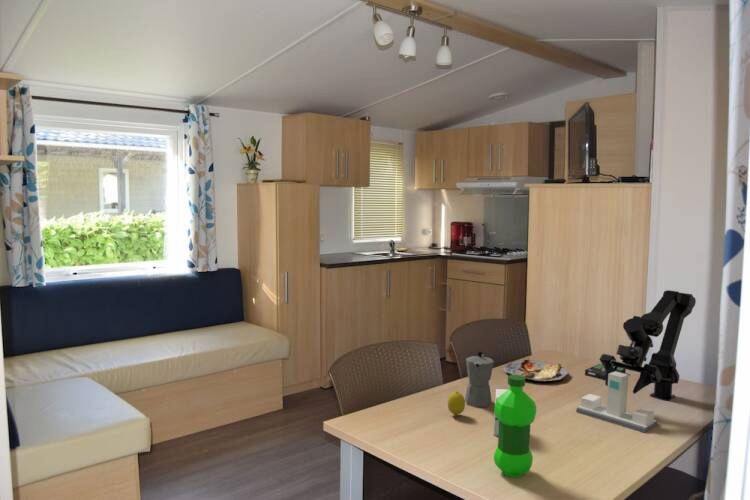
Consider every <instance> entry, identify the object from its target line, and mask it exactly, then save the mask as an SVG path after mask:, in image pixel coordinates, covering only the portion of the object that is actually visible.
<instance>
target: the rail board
mask: <svg viewBox="0 0 750 500" xmlns="http://www.w3.org/2000/svg"><path fill="white" fill-rule="evenodd" d="M580 398H581V401H580V402H581V403H580V405H579V406H577V408H576V413H579V414H582V415H585V416H589V417H591V418H594V419H597V420H602V421H604V422H607V423H611V424H614V425H618V426H621V427H624V428H628V429H630V430H634V431H637V432H641V433H644V434H645V433H646V432H647V431H649V430H650V429H652V428H654V427H655V426H658V423H659V422H658V420H657V419H654V418H655V411H654V410H649V409H647V408H644V407H643V408H642V407H640V408H637V409H636V410H635V411H633V412H629V411H626V414H625V415H623V416H621V417H617V416H614V415H611V414H608V413H606V407H607V405H604V404H602V396H599V395H595V394H591V393H589V394H586V395H584V396H583V397H580Z"/></svg>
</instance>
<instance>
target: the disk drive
mask: <svg viewBox="0 0 750 500" xmlns="http://www.w3.org/2000/svg"><path fill="white" fill-rule="evenodd" d="M626 370H627V369H624V368H620V367H618V368H617V370H615V371H616V372H620V373H624V374H626ZM584 376H586V377H587V376H588V377H592V378H594V379H598V380H599V379H600V380H602V381H606V369H605V368H604V366H603V365H602V363H599V364H596V365H593V366H591V367H589V368H586V369H585V370H584Z"/></svg>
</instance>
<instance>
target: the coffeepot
mask: <svg viewBox="0 0 750 500" xmlns="http://www.w3.org/2000/svg"><path fill="white" fill-rule="evenodd" d="M485 355H486V354H485V353H484V352H483V351H480V350H479V351H477V355H476V356H473V355H471V356H469V357H466V358H465V362H466V372H467V373H466V374H467V378H468V383H467V387H466V393H465V396H464V399H465V404H466V405H468V406H471V407H474V408H486V407H490V406H491V405H492V404H493V401H492V394H491V387H490V381H491V378H492V373H493V367H494V363H495V362H494V360H493V359H492V358H491V357H487V356H485Z"/></svg>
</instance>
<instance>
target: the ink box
mask: <svg viewBox="0 0 750 500" xmlns="http://www.w3.org/2000/svg"><path fill="white" fill-rule="evenodd" d="M508 390H509V389H504V388H503V389H501V388H496V389H495V396H494V397H495V398H494V404H495V403H496V401H497V399H498V397H499V396H501V395H502V394H503V393H505V392H506V391H508ZM498 434H499V420H498V418H497V417H496V416H495V412H494V411H493V436H495V437H498Z"/></svg>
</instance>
